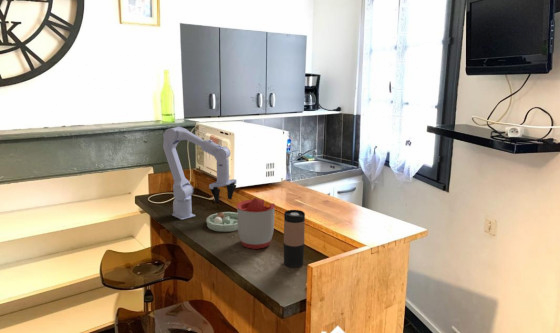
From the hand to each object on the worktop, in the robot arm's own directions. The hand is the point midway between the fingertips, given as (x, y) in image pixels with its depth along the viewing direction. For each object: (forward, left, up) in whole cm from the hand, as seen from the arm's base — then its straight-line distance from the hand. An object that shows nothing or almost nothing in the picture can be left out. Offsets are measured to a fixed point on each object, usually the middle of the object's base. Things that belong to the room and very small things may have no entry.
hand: (223, 200), depth 194 cm
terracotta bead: (+1, -3, -9) cm, 9 cm away
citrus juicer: (+32, -6, -10) cm, 34 cm away
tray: (+6, -3, -10) cm, 12 cm away
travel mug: (+55, -9, -10) cm, 56 cm away
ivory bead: (+6, -7, -9) cm, 13 cm away
